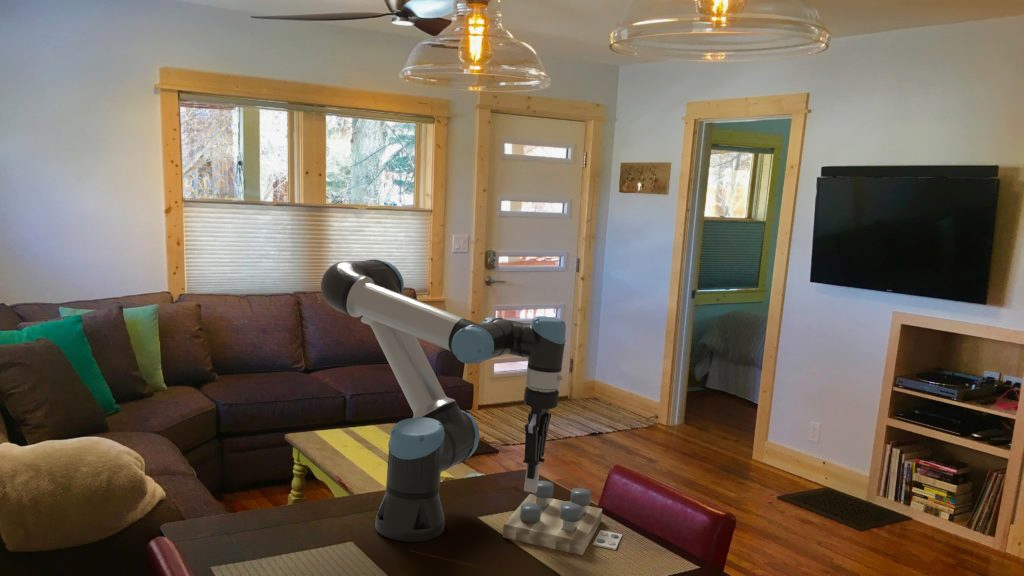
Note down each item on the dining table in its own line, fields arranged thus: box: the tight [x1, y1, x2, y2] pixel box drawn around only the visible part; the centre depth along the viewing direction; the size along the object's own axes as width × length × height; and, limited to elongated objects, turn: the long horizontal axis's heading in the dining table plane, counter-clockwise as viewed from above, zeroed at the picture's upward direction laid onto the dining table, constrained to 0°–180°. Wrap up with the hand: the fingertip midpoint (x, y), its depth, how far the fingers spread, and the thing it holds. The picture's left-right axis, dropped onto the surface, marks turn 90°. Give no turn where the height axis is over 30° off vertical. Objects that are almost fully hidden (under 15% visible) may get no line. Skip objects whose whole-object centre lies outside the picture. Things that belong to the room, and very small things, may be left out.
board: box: [502, 493, 603, 556], centre depth 171 cm, size 18×20×3 cm
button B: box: [532, 480, 555, 508], centre depth 177 cm, size 5×5×6 cm
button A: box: [520, 503, 541, 524], centre depth 167 cm, size 5×5×6 cm
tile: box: [592, 529, 623, 551], centre depth 167 cm, size 5×8×1 cm, turn 162°
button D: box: [569, 487, 592, 516], centre depth 174 cm, size 5×5×6 cm
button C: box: [560, 503, 582, 532], centre depth 165 cm, size 5×5×6 cm
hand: (530, 490), depth 167 cm, fingers closed
